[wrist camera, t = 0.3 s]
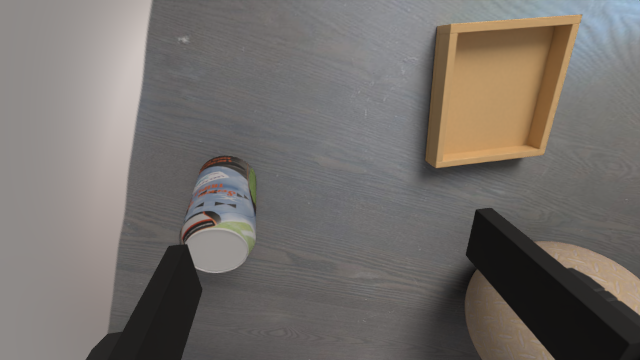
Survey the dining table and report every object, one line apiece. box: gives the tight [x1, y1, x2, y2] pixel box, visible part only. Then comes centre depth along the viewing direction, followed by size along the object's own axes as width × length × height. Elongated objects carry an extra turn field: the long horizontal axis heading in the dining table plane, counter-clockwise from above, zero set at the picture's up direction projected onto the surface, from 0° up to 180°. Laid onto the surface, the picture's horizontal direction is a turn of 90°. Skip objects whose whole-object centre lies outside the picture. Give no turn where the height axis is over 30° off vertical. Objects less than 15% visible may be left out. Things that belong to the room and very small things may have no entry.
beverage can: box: [179, 156, 256, 273], centre depth 27 cm, size 6×7×12 cm
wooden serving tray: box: [425, 15, 582, 168], centre depth 32 cm, size 15×14×3 cm
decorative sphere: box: [465, 241, 640, 360], centre depth 36 cm, size 20×20×20 cm
